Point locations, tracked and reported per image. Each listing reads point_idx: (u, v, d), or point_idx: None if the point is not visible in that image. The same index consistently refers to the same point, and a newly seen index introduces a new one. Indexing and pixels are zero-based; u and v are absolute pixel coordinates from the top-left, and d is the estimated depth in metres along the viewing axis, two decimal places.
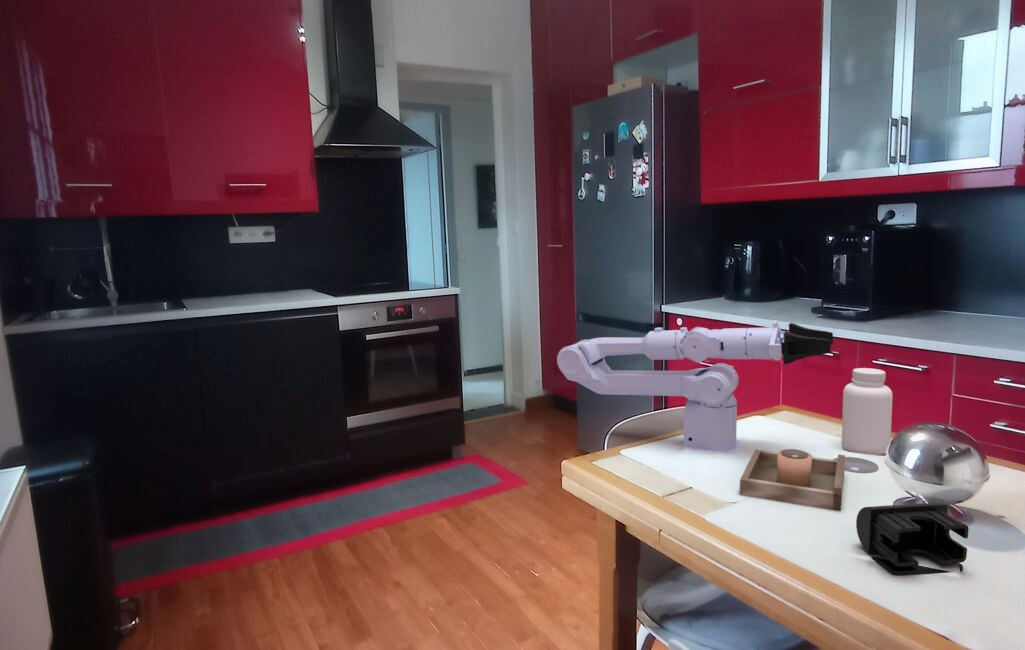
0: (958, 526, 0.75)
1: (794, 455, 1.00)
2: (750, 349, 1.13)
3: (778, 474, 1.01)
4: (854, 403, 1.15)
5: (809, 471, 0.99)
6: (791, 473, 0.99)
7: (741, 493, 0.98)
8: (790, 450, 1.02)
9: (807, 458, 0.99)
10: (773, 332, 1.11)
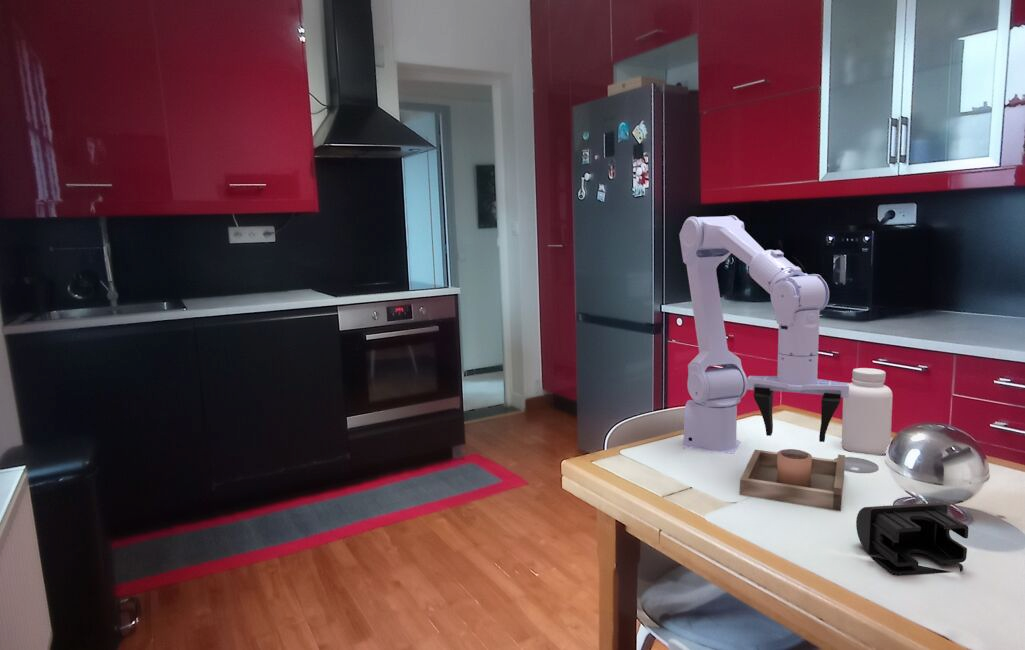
0: (958, 526, 0.75)
1: (794, 455, 1.00)
2: None
3: (778, 474, 1.01)
4: (854, 403, 1.15)
5: (809, 471, 0.99)
6: (791, 473, 0.99)
7: (741, 493, 0.98)
8: (790, 450, 1.02)
9: (807, 458, 0.99)
10: (778, 383, 0.98)
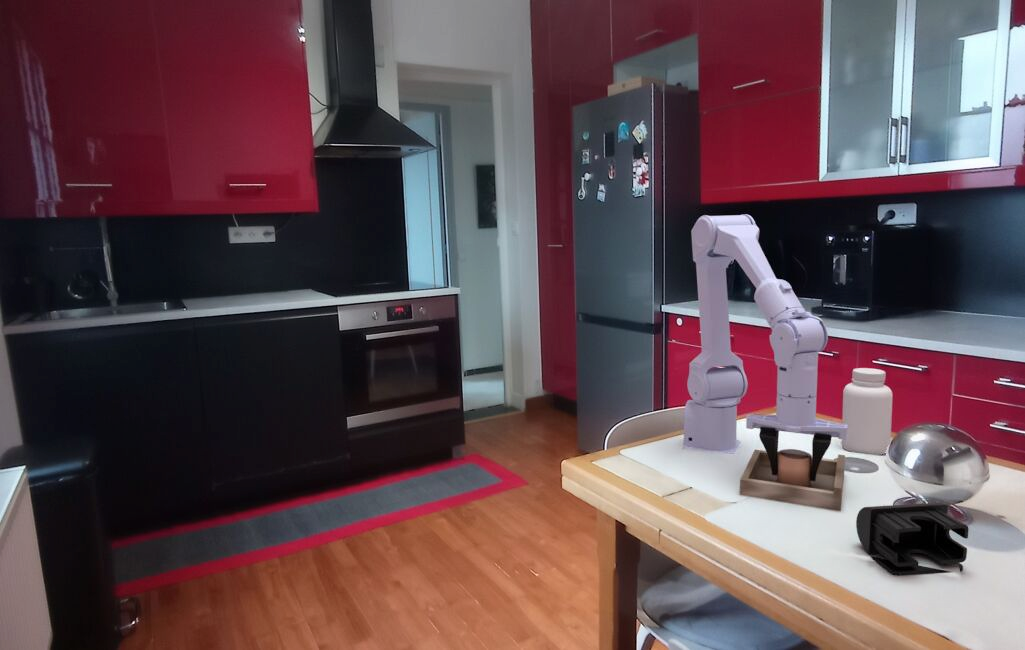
0: (958, 526, 0.75)
1: (794, 455, 1.00)
2: None
3: (778, 474, 1.01)
4: (854, 403, 1.15)
5: (809, 471, 0.99)
6: (791, 473, 0.99)
7: (741, 493, 0.98)
8: (790, 450, 1.02)
9: (807, 458, 0.99)
10: (777, 424, 0.99)
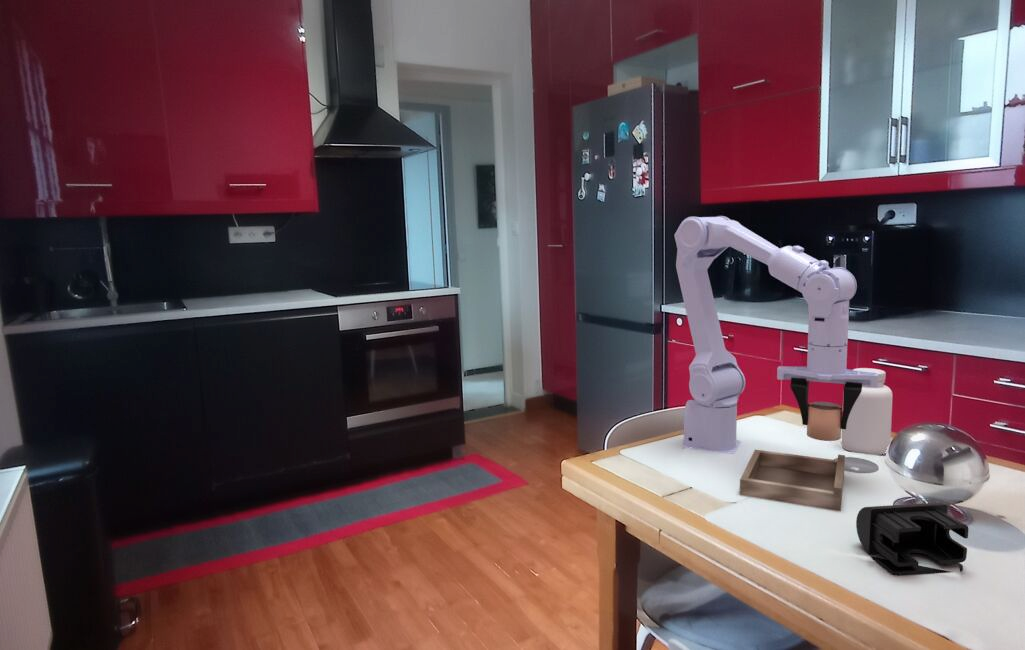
0: (958, 526, 0.75)
1: (824, 406, 1.02)
2: None
3: (808, 425, 1.03)
4: None
5: (839, 422, 1.01)
6: (821, 424, 1.01)
7: (741, 493, 0.98)
8: (821, 402, 1.04)
9: (837, 409, 1.01)
10: (808, 373, 1.01)
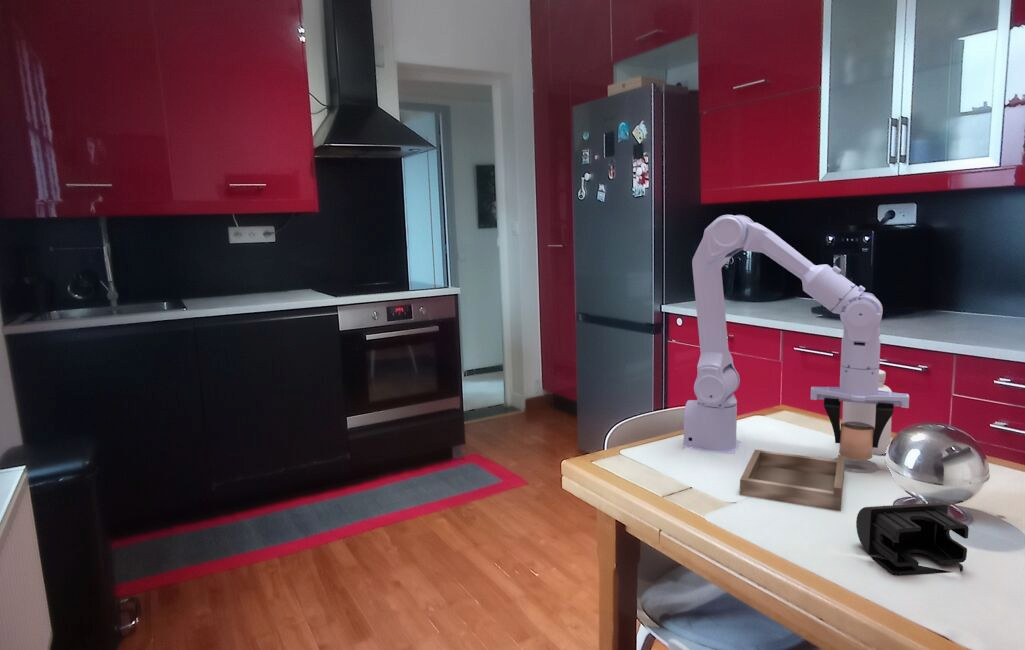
0: (958, 526, 0.75)
1: (856, 426, 1.06)
2: None
3: (840, 444, 1.08)
4: (854, 403, 1.15)
5: (871, 442, 1.05)
6: (853, 443, 1.06)
7: (741, 493, 0.98)
8: (854, 422, 1.09)
9: (869, 430, 1.05)
10: (841, 394, 1.06)
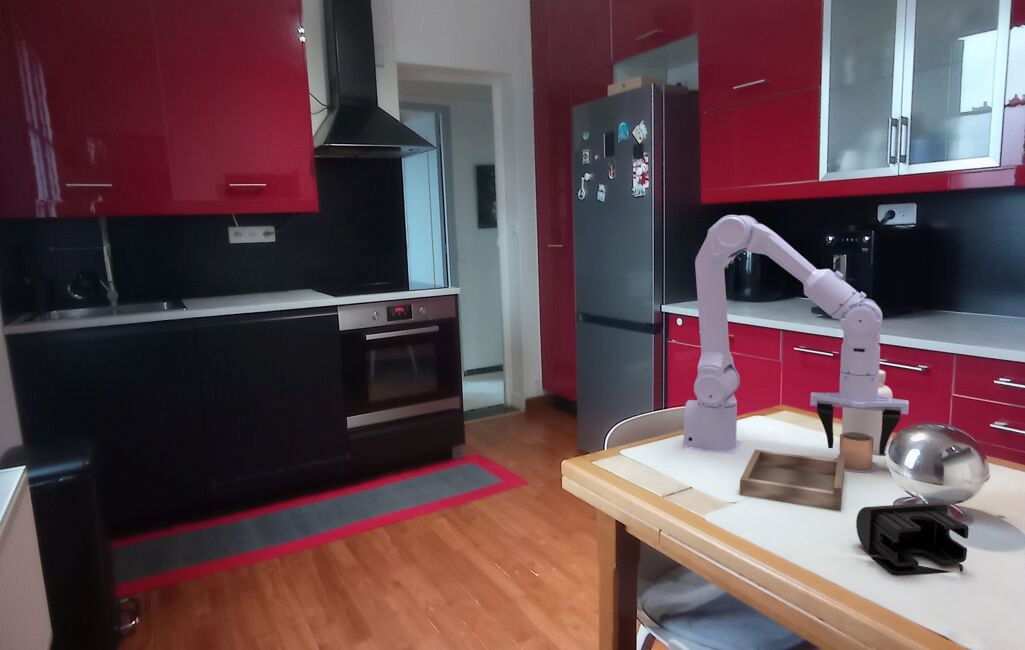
0: (958, 526, 0.75)
1: (856, 437, 1.07)
2: None
3: None
4: None
5: (870, 452, 1.06)
6: (852, 454, 1.06)
7: (741, 493, 0.98)
8: (853, 433, 1.09)
9: (868, 440, 1.05)
10: (841, 400, 1.06)
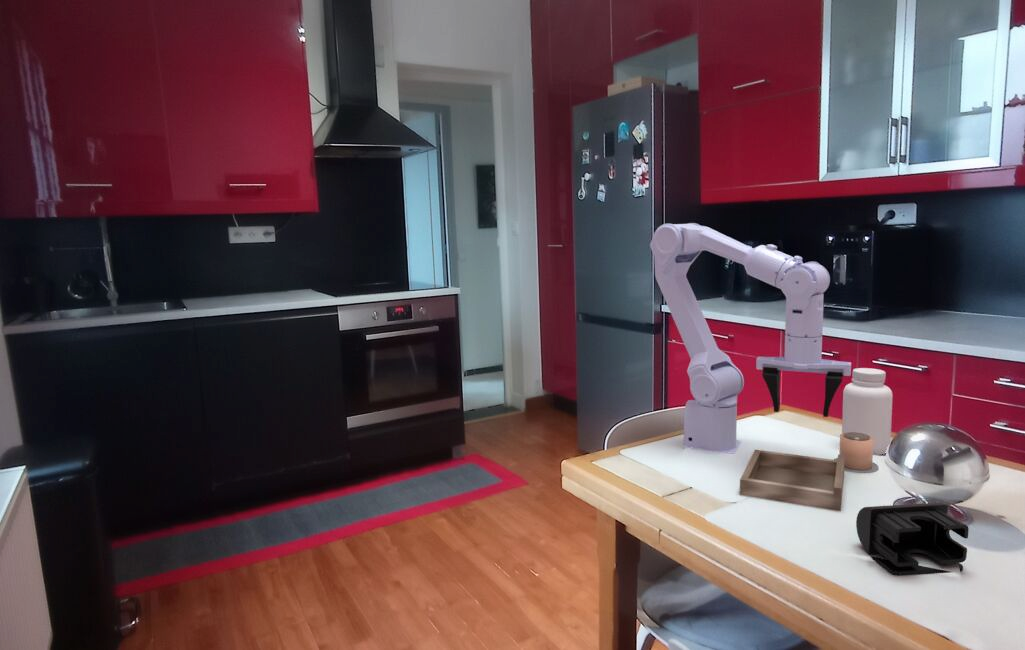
0: (958, 526, 0.75)
1: (856, 437, 1.07)
2: None
3: None
4: (854, 403, 1.15)
5: (870, 453, 1.06)
6: (852, 454, 1.06)
7: (741, 493, 0.98)
8: (853, 433, 1.09)
9: (868, 440, 1.05)
10: (785, 363, 1.06)
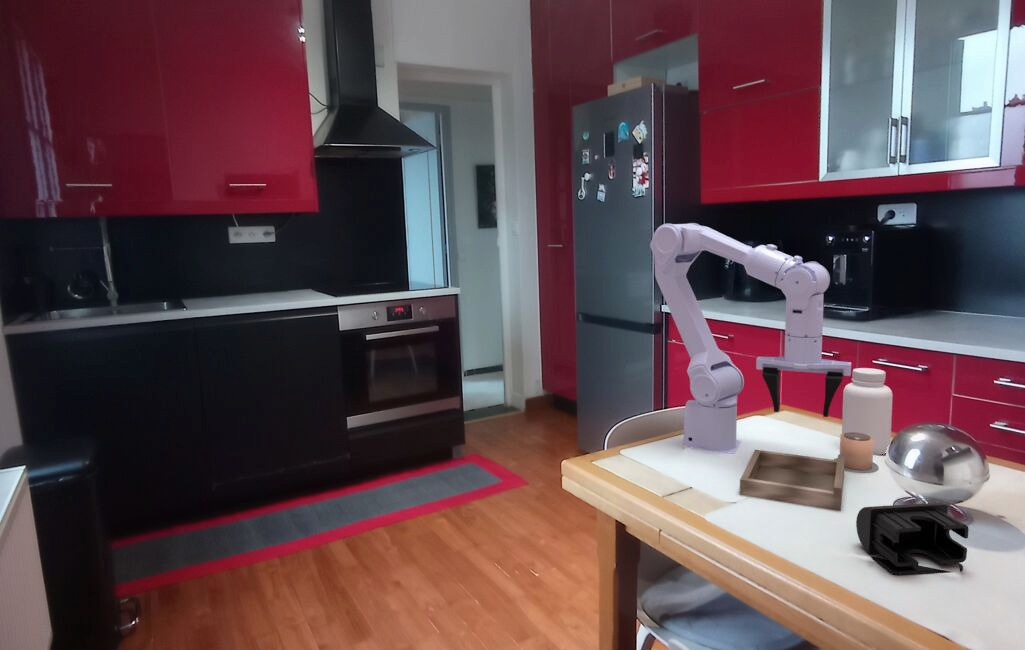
0: (958, 526, 0.75)
1: (856, 437, 1.06)
2: None
3: (840, 454, 1.08)
4: (854, 403, 1.15)
5: (870, 453, 1.06)
6: (852, 454, 1.06)
7: (741, 493, 0.98)
8: (854, 433, 1.09)
9: (869, 440, 1.05)
10: (785, 363, 1.06)
